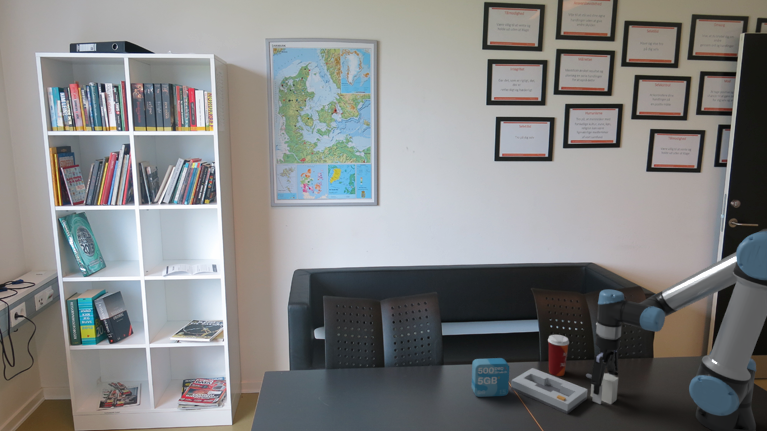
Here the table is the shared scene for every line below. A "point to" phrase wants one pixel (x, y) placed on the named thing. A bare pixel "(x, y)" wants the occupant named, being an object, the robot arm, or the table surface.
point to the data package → (490, 377)
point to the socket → (549, 390)
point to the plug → (607, 388)
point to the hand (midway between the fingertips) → (603, 396)
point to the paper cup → (557, 354)
